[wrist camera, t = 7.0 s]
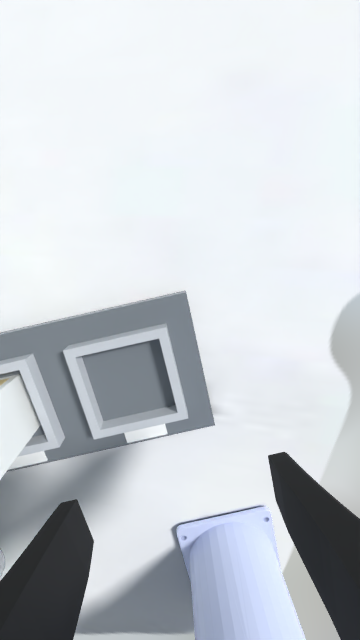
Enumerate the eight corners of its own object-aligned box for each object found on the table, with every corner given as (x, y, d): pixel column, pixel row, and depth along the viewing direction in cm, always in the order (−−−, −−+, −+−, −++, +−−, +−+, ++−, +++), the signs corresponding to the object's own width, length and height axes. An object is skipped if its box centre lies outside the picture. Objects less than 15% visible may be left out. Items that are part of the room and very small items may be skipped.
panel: (213, 418, 20) (217, 434, 19) (-30, 472, 20) (-48, 493, 19) (185, 290, 18) (187, 294, 16) (-90, 353, 18) (-118, 363, 16)
